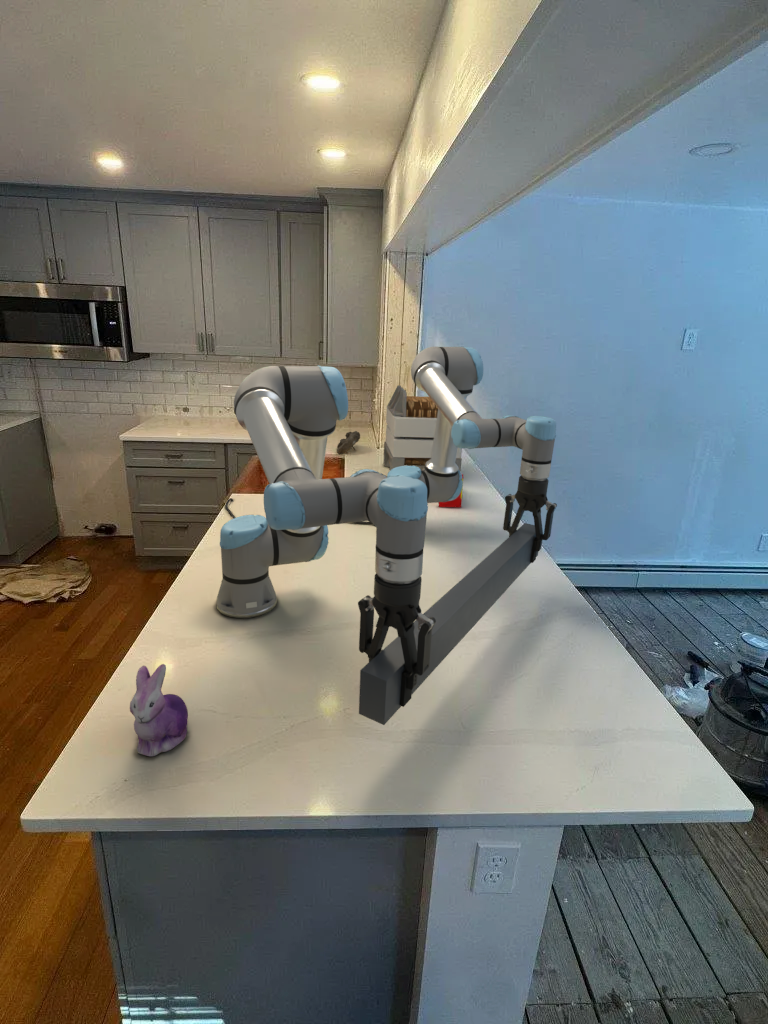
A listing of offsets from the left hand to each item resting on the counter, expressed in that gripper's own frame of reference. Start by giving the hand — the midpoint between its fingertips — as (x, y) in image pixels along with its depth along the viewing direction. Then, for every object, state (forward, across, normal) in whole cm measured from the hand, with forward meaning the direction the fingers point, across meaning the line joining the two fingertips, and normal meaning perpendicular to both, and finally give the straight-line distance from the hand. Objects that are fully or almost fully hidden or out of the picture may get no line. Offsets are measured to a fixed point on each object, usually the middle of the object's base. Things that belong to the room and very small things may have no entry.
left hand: (391, 695), depth 98 cm
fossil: (+13, -134, +181) cm, 226 cm away
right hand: (0, 0, +71) cm, 71 cm away
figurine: (+12, -35, -21) cm, 42 cm away
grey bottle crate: (+13, -81, +165) cm, 185 cm away
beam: (+1, 0, +35) cm, 35 cm away
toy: (+12, -55, +140) cm, 151 cm away
